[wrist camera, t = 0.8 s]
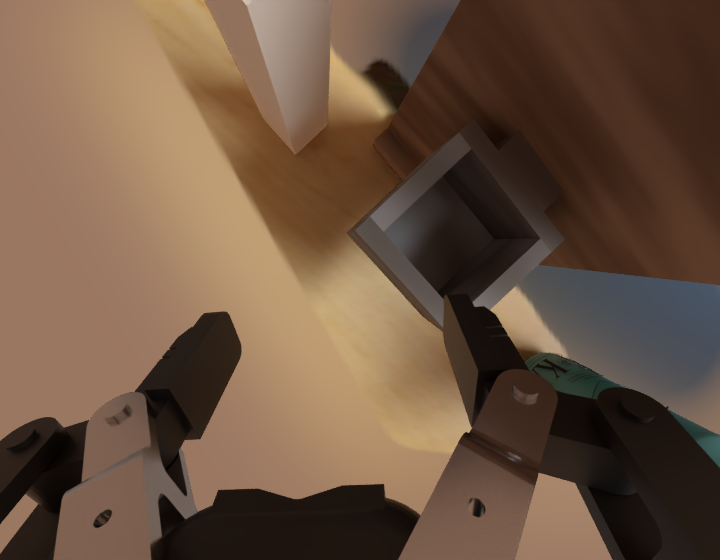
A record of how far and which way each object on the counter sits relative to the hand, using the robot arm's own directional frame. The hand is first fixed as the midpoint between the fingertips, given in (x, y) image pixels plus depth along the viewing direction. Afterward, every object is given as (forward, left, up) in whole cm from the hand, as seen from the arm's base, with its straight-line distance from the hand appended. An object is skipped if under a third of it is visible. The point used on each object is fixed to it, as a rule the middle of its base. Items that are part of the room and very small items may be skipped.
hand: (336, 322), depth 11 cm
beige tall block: (-5, +13, -18) cm, 23 cm away
